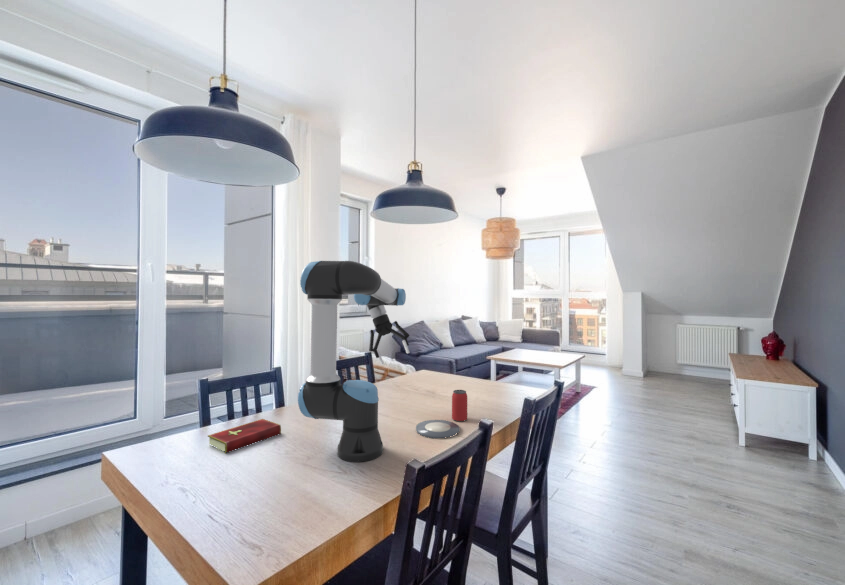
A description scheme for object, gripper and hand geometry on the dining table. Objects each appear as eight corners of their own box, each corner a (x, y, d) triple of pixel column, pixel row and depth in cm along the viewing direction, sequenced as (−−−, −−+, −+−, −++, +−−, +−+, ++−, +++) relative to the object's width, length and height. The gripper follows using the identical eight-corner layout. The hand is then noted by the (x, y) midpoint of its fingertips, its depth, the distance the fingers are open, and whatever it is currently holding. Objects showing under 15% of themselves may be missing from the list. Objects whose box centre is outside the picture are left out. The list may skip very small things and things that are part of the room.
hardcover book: (281, 435, 140) (281, 424, 140) (225, 455, 123) (225, 442, 123) (262, 428, 147) (262, 418, 147) (207, 446, 130) (207, 434, 130)
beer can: (449, 417, 160) (449, 390, 160) (463, 416, 162) (463, 388, 162) (456, 422, 154) (456, 394, 154) (470, 421, 156) (470, 392, 156)
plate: (442, 442, 133) (442, 438, 133) (407, 431, 144) (407, 427, 144) (467, 429, 146) (467, 425, 146) (434, 419, 157) (434, 416, 157)
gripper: (400, 309, 184) (416, 349, 181) (353, 326, 174) (369, 369, 171) (405, 306, 177) (421, 348, 174) (356, 323, 167) (372, 368, 164)
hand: (395, 358), depth 173 cm, fingers open, 13 cm apart
